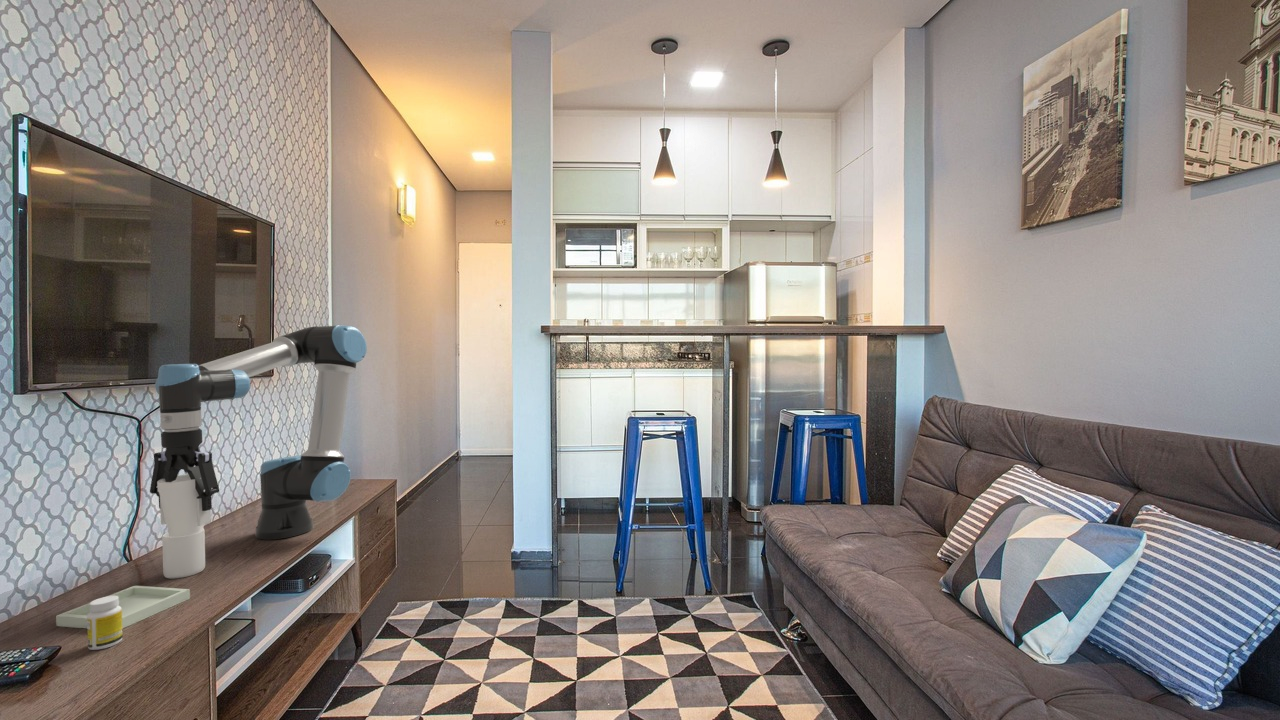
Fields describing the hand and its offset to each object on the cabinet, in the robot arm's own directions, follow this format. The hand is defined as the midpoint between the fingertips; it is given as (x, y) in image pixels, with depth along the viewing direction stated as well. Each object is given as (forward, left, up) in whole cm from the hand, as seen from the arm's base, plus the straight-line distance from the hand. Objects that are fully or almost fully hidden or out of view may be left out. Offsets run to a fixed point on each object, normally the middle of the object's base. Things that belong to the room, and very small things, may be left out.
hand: (186, 523), depth 133 cm
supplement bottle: (+25, +11, -15) cm, 32 cm away
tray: (+13, 0, -15) cm, 20 cm away
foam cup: (0, 0, -2) cm, 2 cm away
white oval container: (-9, -10, -15) cm, 20 cm away
